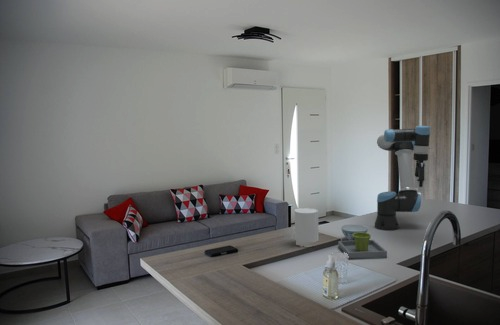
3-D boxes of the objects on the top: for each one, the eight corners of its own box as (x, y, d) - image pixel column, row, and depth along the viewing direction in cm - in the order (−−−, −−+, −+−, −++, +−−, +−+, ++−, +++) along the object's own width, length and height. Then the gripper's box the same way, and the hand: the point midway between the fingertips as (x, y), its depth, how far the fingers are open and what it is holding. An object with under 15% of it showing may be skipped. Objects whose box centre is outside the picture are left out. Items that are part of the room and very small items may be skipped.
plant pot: (371, 253, 203) (371, 237, 202) (353, 253, 205) (353, 237, 204) (370, 248, 212) (370, 232, 211) (352, 247, 214) (352, 232, 213)
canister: (304, 249, 217) (303, 214, 214) (290, 242, 228) (290, 209, 226) (323, 245, 223) (322, 211, 221) (309, 239, 235) (308, 206, 233)
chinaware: (338, 242, 226) (338, 229, 225) (344, 235, 239) (344, 223, 239) (364, 245, 219) (364, 232, 219) (369, 238, 232) (369, 225, 232)
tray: (338, 247, 218) (338, 241, 218) (373, 245, 219) (373, 239, 218) (348, 259, 198) (348, 252, 198) (386, 257, 199) (386, 251, 198)
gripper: (431, 155, 205) (429, 195, 207) (424, 151, 228) (422, 186, 231) (416, 155, 207) (414, 194, 209) (411, 150, 230) (408, 185, 233)
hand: (418, 190), depth 220 cm, fingers open, 13 cm apart
